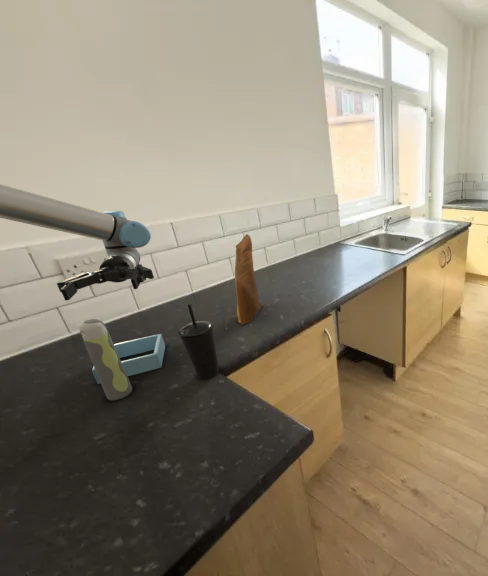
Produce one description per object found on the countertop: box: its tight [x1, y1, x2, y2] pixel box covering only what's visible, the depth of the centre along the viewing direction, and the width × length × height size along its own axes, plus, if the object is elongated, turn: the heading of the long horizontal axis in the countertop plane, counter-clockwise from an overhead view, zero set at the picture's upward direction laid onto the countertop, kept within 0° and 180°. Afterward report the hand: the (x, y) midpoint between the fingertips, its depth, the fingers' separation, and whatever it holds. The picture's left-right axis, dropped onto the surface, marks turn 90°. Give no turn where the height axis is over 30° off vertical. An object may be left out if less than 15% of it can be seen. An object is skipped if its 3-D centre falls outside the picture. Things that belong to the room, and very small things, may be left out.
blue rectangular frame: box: [91, 333, 166, 385], centre depth 88 cm, size 14×13×4 cm
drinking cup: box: [177, 303, 220, 380], centre depth 79 cm, size 8×8×20 cm
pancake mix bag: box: [234, 233, 262, 326], centre depth 110 cm, size 7×19×28 cm, turn 3°
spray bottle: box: [78, 318, 133, 401], centre depth 73 cm, size 5×5×20 cm
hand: (100, 289), depth 79 cm, fingers open, 13 cm apart
